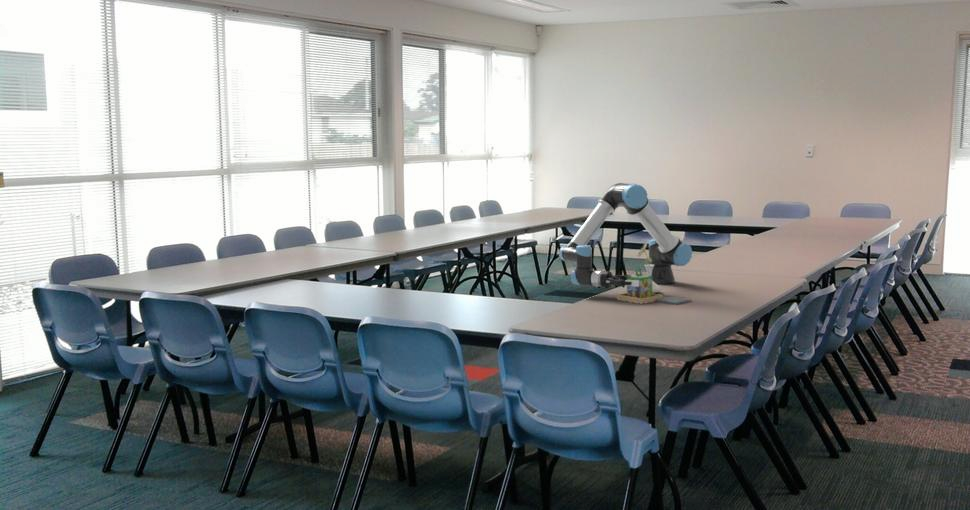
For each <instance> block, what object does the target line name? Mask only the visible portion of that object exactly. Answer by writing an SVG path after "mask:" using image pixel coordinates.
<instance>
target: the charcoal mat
mask: <svg viewBox="0 0 970 510" xmlns="http://www.w3.org/2000/svg"><path fill="white" fill-rule="evenodd" d="M656 301H657V302H656ZM656 301H655V302H656V303H661V302H664V303H663V304H667V303H670V304H669V305H674V304H677V305H680V304H679V303H682V304H686V303H685V302H687V303H691V302H692V299H690V298H685V297H684V298H683V297H677V296H674V295H673V296H672V295H671V296H666V297H662V298H661V299H656ZM690 301H691V302H690Z"/></svg>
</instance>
